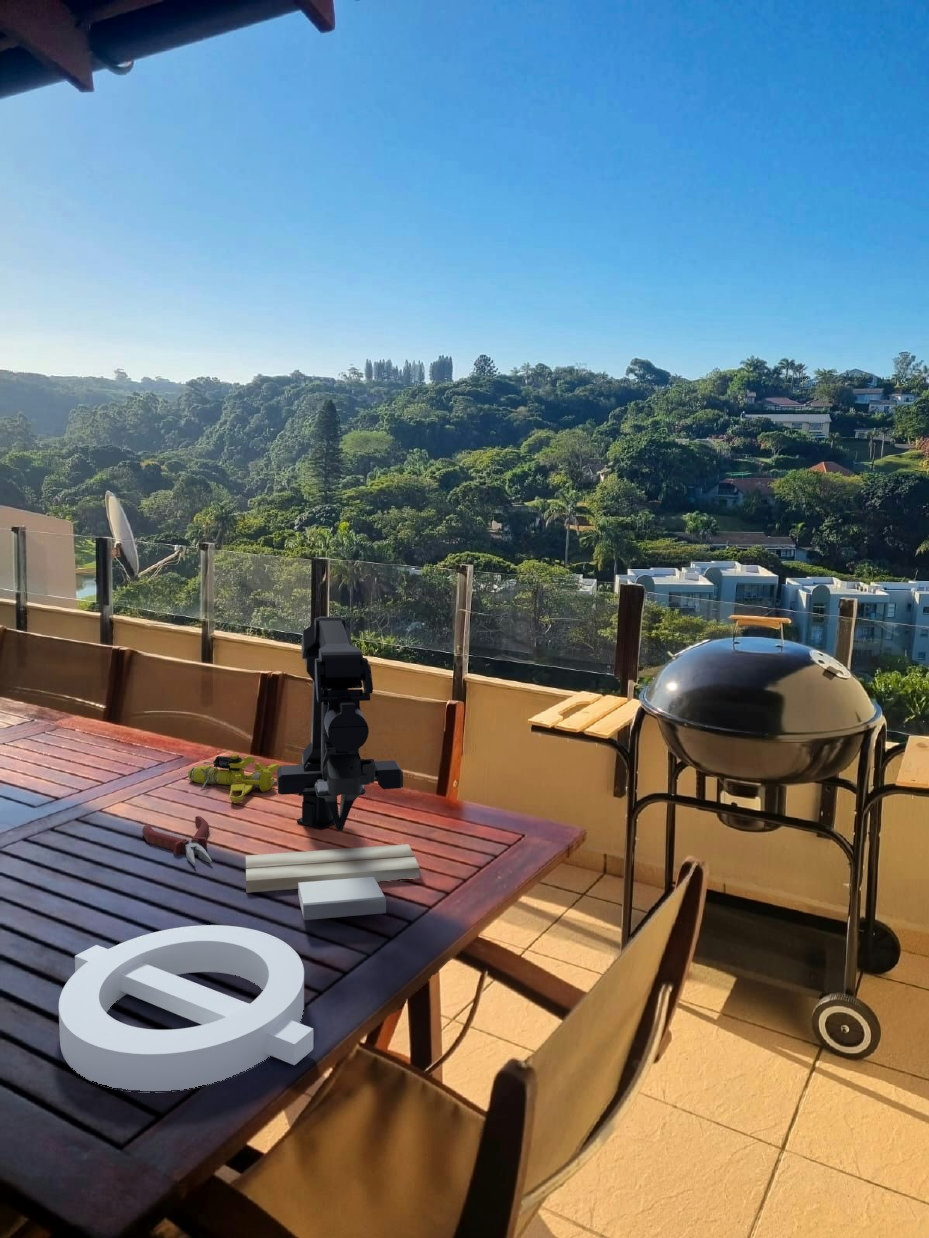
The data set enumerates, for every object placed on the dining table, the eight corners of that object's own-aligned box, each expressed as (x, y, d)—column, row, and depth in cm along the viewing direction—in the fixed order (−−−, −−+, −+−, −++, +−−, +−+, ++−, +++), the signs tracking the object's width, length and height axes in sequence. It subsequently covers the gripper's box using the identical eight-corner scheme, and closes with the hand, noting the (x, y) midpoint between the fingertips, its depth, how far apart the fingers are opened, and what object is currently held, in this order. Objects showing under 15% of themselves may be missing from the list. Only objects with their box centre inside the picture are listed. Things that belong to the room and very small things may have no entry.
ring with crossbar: (317, 1071, 98) (317, 1032, 97) (41, 1115, 90) (39, 1072, 89) (291, 946, 124) (292, 915, 124) (76, 972, 116) (75, 938, 115)
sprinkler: (209, 740, 199) (289, 746, 193) (211, 772, 200) (291, 779, 195) (158, 768, 181) (245, 776, 175) (161, 803, 182) (247, 812, 177)
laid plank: (245, 866, 149) (245, 854, 149) (408, 854, 156) (408, 843, 156) (246, 892, 140) (246, 879, 139) (419, 878, 146) (419, 866, 146)
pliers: (169, 877, 145) (168, 862, 145) (140, 836, 162) (140, 823, 162) (237, 864, 151) (237, 849, 151) (202, 826, 168) (202, 812, 168)
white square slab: (298, 882, 139) (303, 905, 127) (373, 876, 142) (385, 898, 130) (298, 895, 139) (303, 919, 127) (373, 889, 142) (386, 912, 130)
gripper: (279, 750, 123) (279, 856, 125) (410, 745, 128) (408, 847, 130) (276, 728, 134) (276, 826, 136) (397, 724, 138) (395, 819, 141)
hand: (339, 830), depth 135 cm, fingers closed
